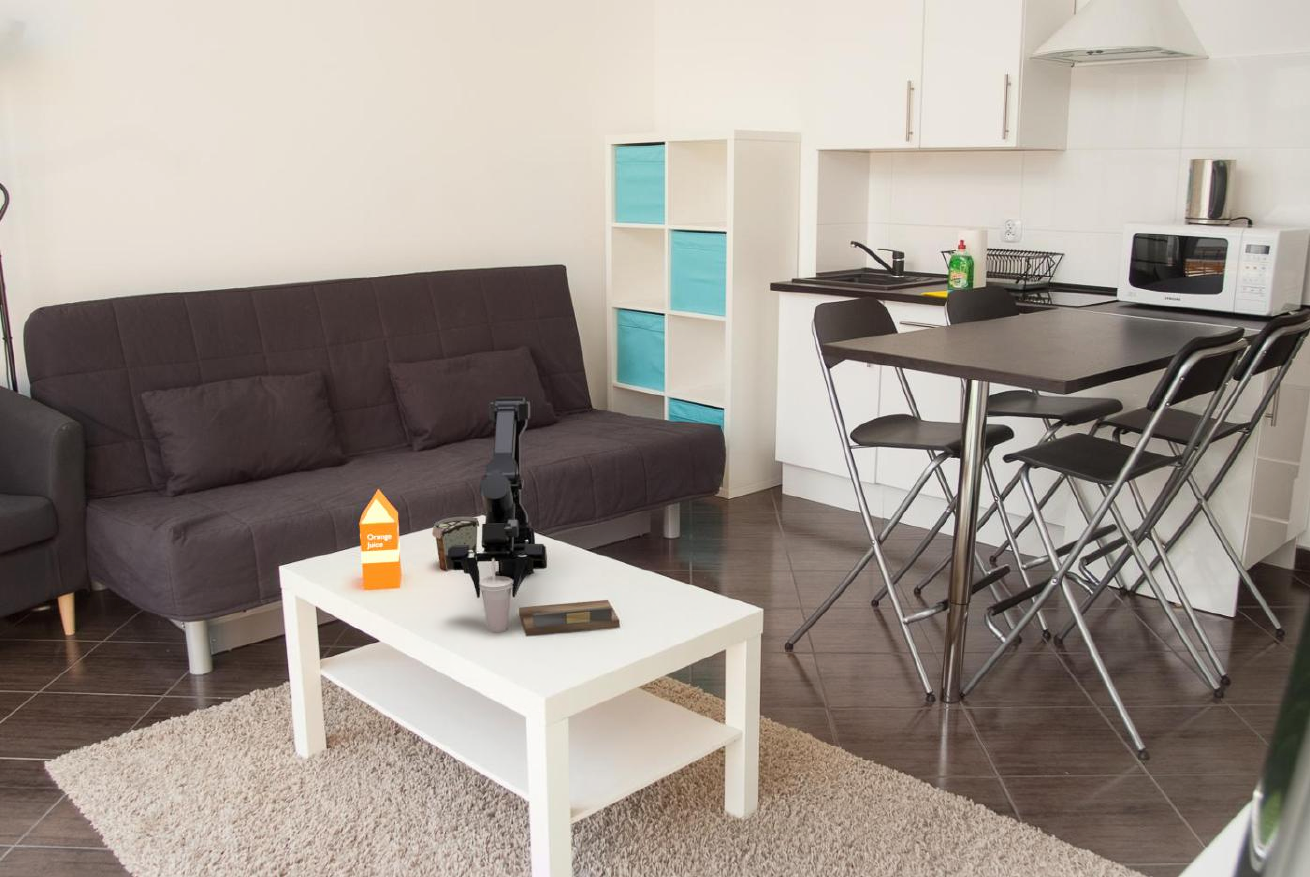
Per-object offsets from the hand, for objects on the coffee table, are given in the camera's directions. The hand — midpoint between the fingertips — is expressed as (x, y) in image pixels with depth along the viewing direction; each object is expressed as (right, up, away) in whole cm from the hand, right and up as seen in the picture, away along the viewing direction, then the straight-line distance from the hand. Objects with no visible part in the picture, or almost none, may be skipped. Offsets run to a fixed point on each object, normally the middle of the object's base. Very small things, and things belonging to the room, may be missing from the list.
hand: (495, 596), depth 222 cm
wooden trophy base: (+13, -6, +7) cm, 16 cm away
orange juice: (-29, -1, +31) cm, 42 cm away
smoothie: (0, -7, +3) cm, 7 cm away
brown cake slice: (-16, +1, +44) cm, 47 cm away
